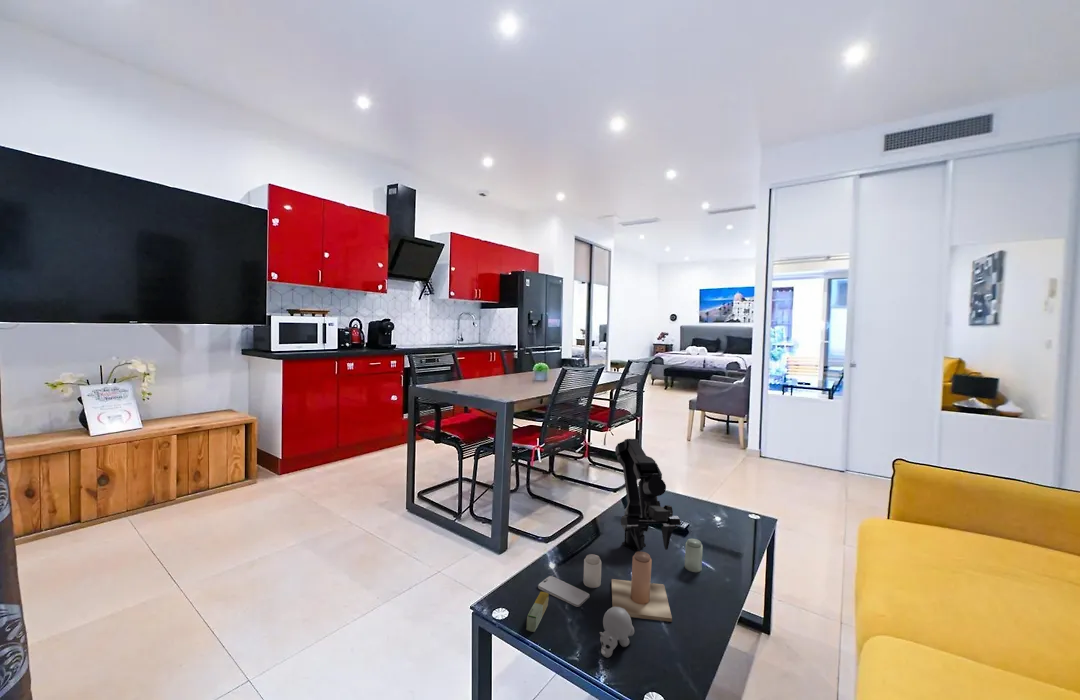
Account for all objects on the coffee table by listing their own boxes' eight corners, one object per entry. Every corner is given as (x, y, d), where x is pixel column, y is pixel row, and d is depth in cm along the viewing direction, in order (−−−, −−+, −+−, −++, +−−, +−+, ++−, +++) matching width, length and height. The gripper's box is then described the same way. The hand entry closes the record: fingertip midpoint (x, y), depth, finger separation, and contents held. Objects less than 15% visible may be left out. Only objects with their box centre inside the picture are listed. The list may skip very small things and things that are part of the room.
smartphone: (578, 606, 124) (536, 585, 133) (578, 610, 124) (536, 588, 133) (591, 594, 130) (550, 574, 139) (591, 597, 130) (550, 578, 139)
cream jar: (579, 582, 137) (580, 557, 137) (591, 575, 141) (592, 551, 140) (592, 590, 133) (593, 564, 132) (604, 583, 137) (605, 558, 136)
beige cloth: (611, 582, 137) (611, 579, 137) (663, 587, 135) (663, 584, 135) (612, 614, 121) (612, 611, 121) (671, 621, 119) (672, 618, 119)
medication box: (535, 633, 114) (536, 618, 114) (525, 630, 115) (526, 616, 114) (548, 606, 125) (549, 592, 125) (539, 603, 126) (540, 590, 126)
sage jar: (681, 567, 147) (682, 541, 147) (689, 561, 151) (690, 536, 150) (696, 574, 143) (697, 547, 143) (704, 568, 147) (705, 542, 146)
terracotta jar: (627, 594, 129) (629, 551, 128) (642, 591, 131) (644, 549, 130) (637, 605, 124) (639, 561, 123) (653, 602, 126) (655, 558, 125)
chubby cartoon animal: (592, 658, 109) (585, 634, 106) (614, 618, 117) (609, 595, 114) (617, 673, 104) (611, 648, 101) (639, 630, 112) (634, 607, 110)
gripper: (632, 496, 136) (637, 551, 130) (686, 496, 140) (693, 550, 134) (618, 498, 146) (622, 549, 140) (669, 499, 150) (674, 549, 144)
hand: (653, 549), depth 139 cm, fingers open, 9 cm apart
